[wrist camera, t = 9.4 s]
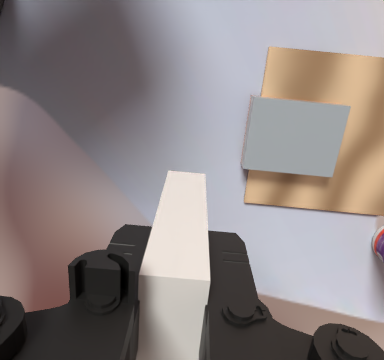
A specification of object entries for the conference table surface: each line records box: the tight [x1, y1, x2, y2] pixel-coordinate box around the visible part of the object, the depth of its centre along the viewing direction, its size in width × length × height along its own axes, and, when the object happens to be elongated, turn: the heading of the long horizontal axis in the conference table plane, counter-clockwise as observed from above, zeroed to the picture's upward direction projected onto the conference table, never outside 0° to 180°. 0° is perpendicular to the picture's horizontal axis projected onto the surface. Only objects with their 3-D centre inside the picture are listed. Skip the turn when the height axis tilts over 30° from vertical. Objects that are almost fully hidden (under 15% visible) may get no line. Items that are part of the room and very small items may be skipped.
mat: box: [244, 47, 384, 216], centre depth 32 cm, size 22×16×1 cm
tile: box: [241, 95, 351, 177], centre depth 31 cm, size 2×7×9 cm
